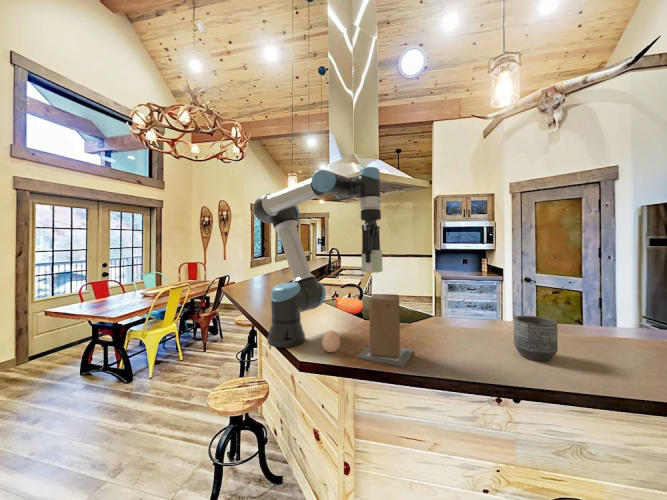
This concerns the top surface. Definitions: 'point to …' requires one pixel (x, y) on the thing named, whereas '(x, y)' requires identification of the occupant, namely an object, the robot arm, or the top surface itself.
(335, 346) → the egg
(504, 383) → the top surface
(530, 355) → the planter
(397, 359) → the slate mat
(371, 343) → the wooden block
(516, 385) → the top surface
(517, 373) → the top surface
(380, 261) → the sage block
